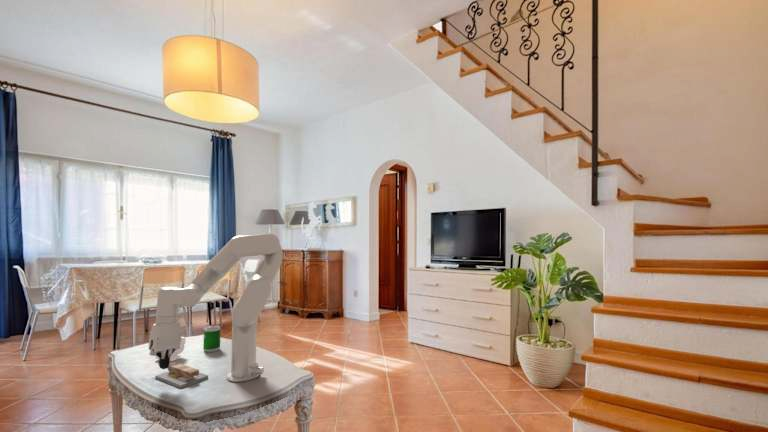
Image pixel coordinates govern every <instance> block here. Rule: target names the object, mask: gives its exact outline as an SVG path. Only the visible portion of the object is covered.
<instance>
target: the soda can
mask: <svg viewBox="0 0 768 432" xmlns="http://www.w3.org/2000/svg"><path fill="white" fill-rule="evenodd" d="M202 348H203V351H204V352H205V353H214V352H218V351H219V349H220V348H221V326H220V325H219V324H210V325H207V326H205V327H204V328H203V347H202Z"/></svg>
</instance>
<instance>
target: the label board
mask: <svg viewBox="0 0 768 432" xmlns="http://www.w3.org/2000/svg"><path fill="white" fill-rule="evenodd" d="M155 379H156V380H157V381H161V382H164V383H165V384H168V385H170V386H173V387H175V388H178V389H180V390H181V389H183V388H186V387H189V386H192V385H194V384H198V383H199V382H203V381H204V380H207V379H209V375H208V374H205V373H202V372H200V371H199V375H197V376H195V377H192V378H188V377H185V376H182V375H180V374H177V373H174V372H171V371H169V370H168V371H165V372H162V373H160V374H159V373H158V374H157V375H155Z"/></svg>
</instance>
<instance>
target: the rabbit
mask: <svg viewBox="0 0 768 432" xmlns="http://www.w3.org/2000/svg"><path fill="white" fill-rule="evenodd" d="M186 341H187V340H186V337H185V336H181V344H180V349H178V350H176V351H174V352H173V354H172V356H171V357H170V362H174V361H176V360H179V359H181V358H182V357H181V355H180V354H182V353H183V352H184V350H185V344H186V343H187V342H186ZM154 357H155V359H157V360H158V361H159V357H158V356H154Z"/></svg>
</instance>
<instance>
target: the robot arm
mask: <svg viewBox="0 0 768 432" xmlns="http://www.w3.org/2000/svg"><path fill="white" fill-rule="evenodd" d="M256 256H261V259H260V261H259V263H258V264H257V267H256V268H255V269H254V270H255V271H254V272H253V274H252V275H251V276H250V278H249V280H248V281H247V284H246V288H245V289H244V291H243V293H242V295H241V297H240V298H239V299H238V300H237V301H235V303H234V304H233V307H232V313H231V316H232V317H231V318H232V319H231V321H232V322H231V323H232V325H231V329H232V330H231V331H232V332H231V357H230V359H231V360H230V361H231V364H230V365H231V366H230V371H229V372H228V373H227V375H226V379H227V380H228V381H229V382H235V383H239V382H240V383H241V382H248V381H251V380H254V379H256V378H257V377H259V376H260V375H263V374H264V371H265V367H264V366H263V367H262V366H260V365H259V363H258V362H257V332H258V330H257V329H258V327H257V326H258V318H259V316H260V314H261V312H262V310H264V307H265V305H266V303H267V302H268V299H269V297H270V295H271V294H272V287H273V286H272V284H273V281H274V279H276V278H275V277H276V276H277V273H278V272H279V270H280V268H281V265H282V262H283V249H282V246H281V241H280V238H279V237H278V236H277V235H276V234H273V233H271V232H270V233H268V232H266V233H259V234H251V235H250V234H249V235H235V236H233V237H232V238H231V239H230V240H229V241H228V242H227V243H226V244H225V245H224V246H223V247H222V248H221V249H220V250H219V251H218V252H217V253H216V254H215V255H214V256H213V257H212V258H211V259H210V260H209V261H208V262H207V263H206V265H205V267H204V268H203V269H202V271H201V272H199V274H197V276H196V277H195V278H194V279H193V280H192V281H191V282H189V284H187V286H186V287H184V288H183V287H182V288H180V287H178V286H163V287H160V288H159V289H158V291H157V301H156V302H157V303H156V313H155V314H156V315H155V323H153V324H152V326H151V331H150V334H149V340H148V350H149V356H152V357H153V356H154V357H155V356H158V357H159V360H158V366H159V369H161V370H168V366H169V364H170V362H171V361H170V357H171V356H172V354H173V352H174V351H176V350H178V349H180V344H181V337H182V327H181V326H182V325H181V322H180V321H179V320H180V318H182V317H183V314H182V313H180V307H185V308H187V307H190V308H191V307H195V306H196V305H198V304H199V303H200V301H201V300H202V298H203V297H204V296H205V294H207V293H208V292H209V290H210V289H212V287H213V286H214V285H216V284H217V282H219V281H220V280H221V279H223V278H224V277H226V276H227V275H228V273H230V271H231V270H232V269H233V268H234V267H235V266H236V265H237V264H238V263H239V262H240V261H241V260H242V259H243V258H244V257H245V258H247V257H256Z"/></svg>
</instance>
